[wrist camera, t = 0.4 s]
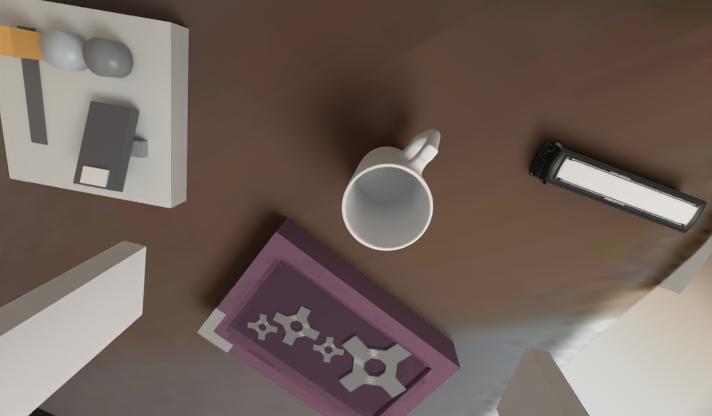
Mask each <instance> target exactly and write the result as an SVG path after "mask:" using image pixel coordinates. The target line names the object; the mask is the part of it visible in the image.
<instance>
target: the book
mask: <svg viewBox="0 0 712 416" xmlns="http://www.w3.org/2000/svg"><path fill="white" fill-rule="evenodd" d="M197 333H199V334H200V335H202V336H203V337H205V338H206V339H207V340H209V341H210V342H212V343H213V344H215V345H216V346H218V347H219V348H221V349H222V350H224V351H225V352H230V353H231V354H233V355H234V356H236V357H237V358H239V359H240V360H242V361H243V362H245V363H246V364H248V365H249V366H251V367H252V368H253V369H255V370H256V371H258V372H259V373H261V374H262V375H264V376H265V377H267V378H268V379H270V380H271V381H273V382H274V383H276V384H277V385H279V386H280V387H282V388H283V389H285V390H286V391H288V392H289V393H291V394H292V395H294V396H295V397H297V398H298V399H300V400H301V401H302V402H304V403H305V404H307V405H308V406H310V407H311V408H313V409H314V410H316V411H317V412H319V413H320V414H322V415H323V416H406V415H407V414H408V413H409V412H410V411H411V410H412V409H414V408H415V407H416V406H417V405H418V404H419V403H421V402H422V401H423V400H424V399H425V398H426V397H427V396H429V395H430V394H431V393H432V392H433V391H434V390H436V389H437V388H438V387H439V386H440V385H441V384H442V383H444V382H445V381H446V380H447V379H448V378H449V377H451V376H452V375H453V374H454V373H455V372H456V371H457V370H459V369H460V365H459V362H458V358H457V355H456V351H455V347H454V344H453V341H451V340H450V339H449V338H447V337H446V336H445V335H443V334H442V333H441V332H439V331H438V330H437V329H435V328H434V327H433V326H431V325H430V324H429V323H427V322H426V321H425V320H423V319H422V318H421V317H419V316H418V315H417V314H415V313H414V312H413V311H411V310H410V309H409V308H407V307H406V306H405V305H403V304H402V303H401V302H399V301H398V300H397V299H395V298H394V297H393V296H391V295H390V294H389V293H387V292H386V291H385V290H383V289H382V288H381V287H379V286H378V285H377V284H375V283H374V282H373V281H371V280H370V279H369V278H367V277H366V276H365V275H363V274H362V273H361V272H359V271H358V270H357V269H355V268H354V267H353V266H351V265H350V264H349V263H347V262H346V261H345V260H343V259H342V258H341V257H339V256H338V255H337V254H335V253H334V252H333V251H331V250H330V249H329V248H327V247H326V246H325V245H323V244H322V243H321V242H319V241H318V240H317V239H315V238H314V237H313V236H311V235H310V234H309V233H307V232H306V231H305V230H303V229H302V228H301V227H299V226H298V225H297V224H295V223H294V222H293V221H291V220H290V219H289V218H287V219H286V220H285V221H284V223H283V224H282V225H281V226H280V227H279V229H278V230H277V231H276V232H275V234H274V235H273V236H272V238H271V239H270V240H269V241H268V243H267V244H266V245H265V247H264V248H263V249H262V251H261V252H260V253H259V254H258V256H257V257H256V258H255V260H254V261H253V262H252V264H251V265H250V266H249V267H248V269H247V270H246V271H245V273H244V274H243V275H242V277H241V278H240V279H239V280H238V282H237V283H236V284H235V285H234V286H233V288H232V289H231V290H230V291H229V293H228V294H227V295H226V297H225V298H224V299H223V301H222V302H221V303H220V304H219V305H218V306H217V307H216V309H215V310H214V311H213V313H212V314H211V315H210V316H209V318H208V319H207V320H206V322H205V323H204V324H203V326H202V327H201V328H200V329H199V331H198V332H197Z"/></svg>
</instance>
